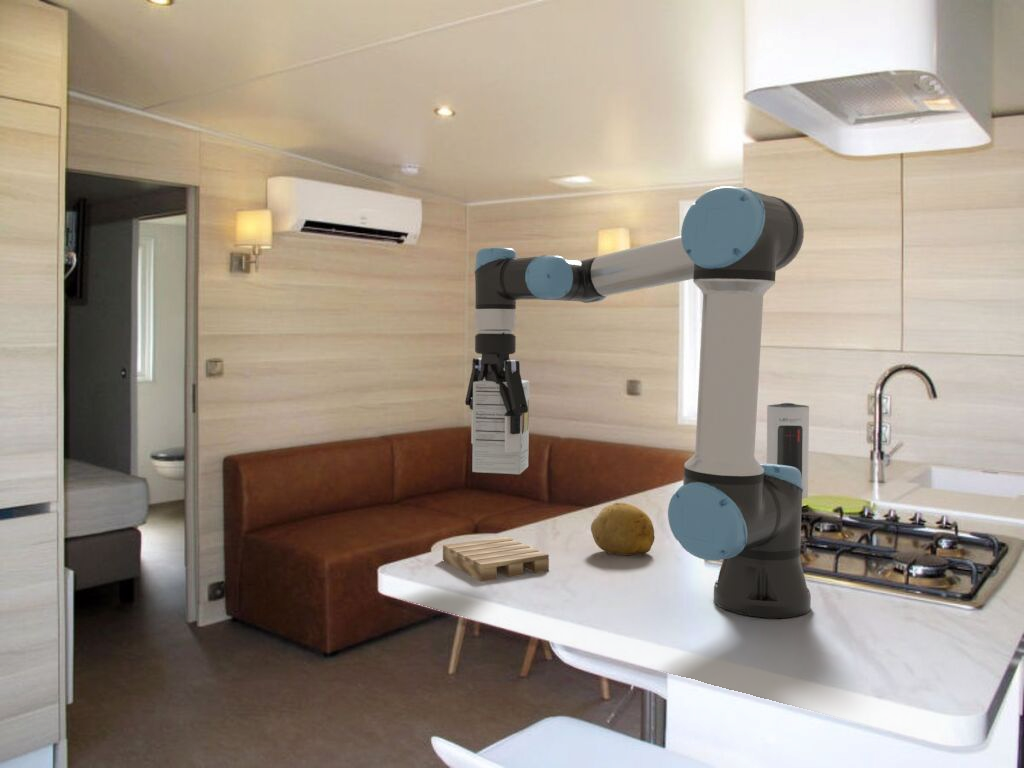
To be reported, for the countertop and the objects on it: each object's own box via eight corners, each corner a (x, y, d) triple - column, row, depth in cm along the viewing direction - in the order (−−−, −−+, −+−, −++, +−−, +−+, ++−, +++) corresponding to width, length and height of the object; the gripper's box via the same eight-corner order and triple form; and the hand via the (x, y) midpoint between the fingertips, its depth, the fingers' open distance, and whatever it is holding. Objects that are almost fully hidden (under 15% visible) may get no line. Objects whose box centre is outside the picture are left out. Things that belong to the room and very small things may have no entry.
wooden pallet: (548, 570, 158) (548, 554, 158) (481, 581, 151) (481, 564, 151) (506, 551, 172) (506, 536, 171) (442, 560, 165) (442, 545, 164)
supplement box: (520, 475, 155) (521, 382, 154) (471, 473, 157) (471, 381, 156) (529, 466, 165) (530, 379, 163) (482, 464, 166) (483, 378, 165)
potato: (653, 561, 165) (654, 510, 164) (588, 557, 167) (589, 507, 167) (655, 548, 175) (655, 499, 174) (594, 545, 177) (594, 497, 177)
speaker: (762, 506, 218) (764, 404, 217) (767, 499, 228) (769, 401, 226) (806, 509, 214) (809, 405, 212) (809, 502, 224) (811, 402, 222)
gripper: (547, 333, 150) (546, 454, 151) (482, 332, 171) (481, 438, 172) (510, 332, 146) (509, 457, 147) (448, 332, 167) (448, 441, 169)
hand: (494, 447), depth 160 cm, fingers closed on supplement box, 12 cm apart
